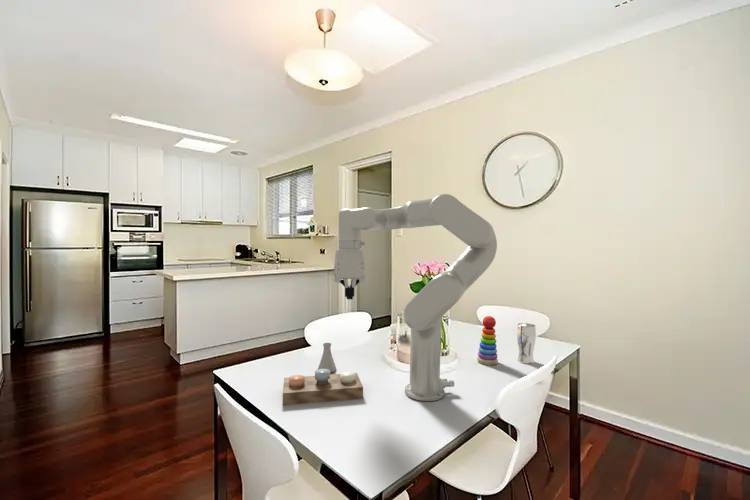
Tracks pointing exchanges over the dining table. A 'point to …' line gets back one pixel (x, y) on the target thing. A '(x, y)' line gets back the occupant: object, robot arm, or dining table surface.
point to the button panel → (322, 390)
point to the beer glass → (526, 342)
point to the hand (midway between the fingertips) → (349, 298)
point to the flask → (327, 359)
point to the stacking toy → (488, 343)
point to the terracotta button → (296, 380)
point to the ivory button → (347, 377)
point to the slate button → (322, 376)
